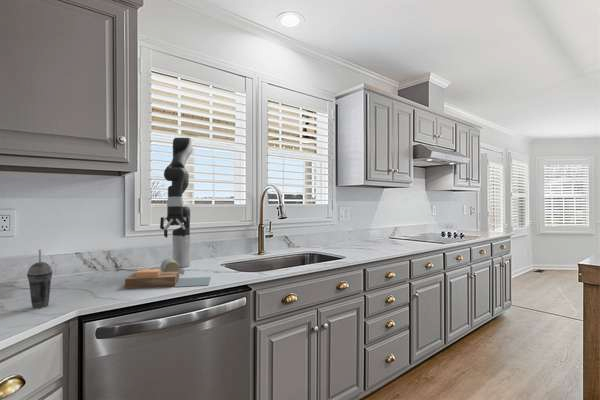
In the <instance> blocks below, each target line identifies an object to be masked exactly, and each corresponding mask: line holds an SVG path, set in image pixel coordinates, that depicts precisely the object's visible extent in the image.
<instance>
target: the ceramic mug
mask: <svg viewBox="0 0 600 400" xmlns="http://www.w3.org/2000/svg"><path fill="white" fill-rule="evenodd" d="M160 269H161V272H171V271H179V274H185V270H184V269H183V268H182V267H179V264H178V263H177V262H176V261H175V260H173V258H171V257H167V258H165V259H163V260H162V262H161V264H160Z"/></svg>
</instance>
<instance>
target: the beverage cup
mask: <svg viewBox="0 0 600 400" xmlns="http://www.w3.org/2000/svg"><path fill="white" fill-rule="evenodd" d="M41 254H42V250H41V249H38V262H35V263H34V264H32V265H31V266H30V267H29V268H28V270H27V275H26V276H27V280H28V285H29V292H30V293H29V294H30V302H31V306H32V307H33V308H38V309H43V308H42V307H44V308H47V307H49V304H50V303H49V302H50V294H51V284H52V283H51V282H52V277H53V269H52V267H51V265H50V264H48V263H47V262H44V261H43V262H42V255H41ZM46 306H47V307H46ZM32 307H31V308H32ZM33 308H32V309H33Z"/></svg>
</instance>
